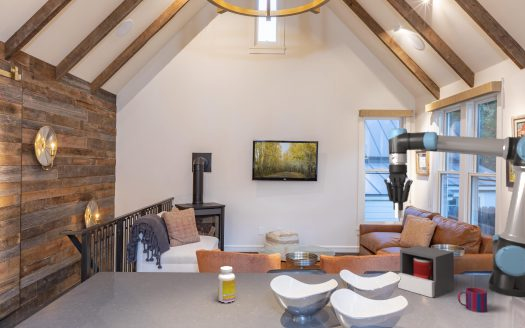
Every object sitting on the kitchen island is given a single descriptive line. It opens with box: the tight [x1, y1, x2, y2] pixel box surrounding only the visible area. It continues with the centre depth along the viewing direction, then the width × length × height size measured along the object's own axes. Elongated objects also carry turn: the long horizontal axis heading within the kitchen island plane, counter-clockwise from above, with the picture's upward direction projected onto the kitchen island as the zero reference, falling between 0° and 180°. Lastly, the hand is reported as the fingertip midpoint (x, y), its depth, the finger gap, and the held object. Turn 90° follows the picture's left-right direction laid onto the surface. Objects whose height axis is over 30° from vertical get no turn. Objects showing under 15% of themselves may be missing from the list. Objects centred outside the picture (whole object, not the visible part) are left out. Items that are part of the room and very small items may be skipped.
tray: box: [397, 272, 436, 298], centre depth 158 cm, size 15×15×6 cm
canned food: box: [414, 256, 434, 281], centre depth 158 cm, size 8×8×11 cm
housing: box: [399, 245, 455, 298], centre depth 159 cm, size 16×14×16 cm
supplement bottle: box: [217, 265, 236, 303], centre depth 146 cm, size 7×7×13 cm
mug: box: [457, 286, 488, 313], centre depth 137 cm, size 7×10×7 cm
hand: (398, 217), depth 164 cm, fingers closed
